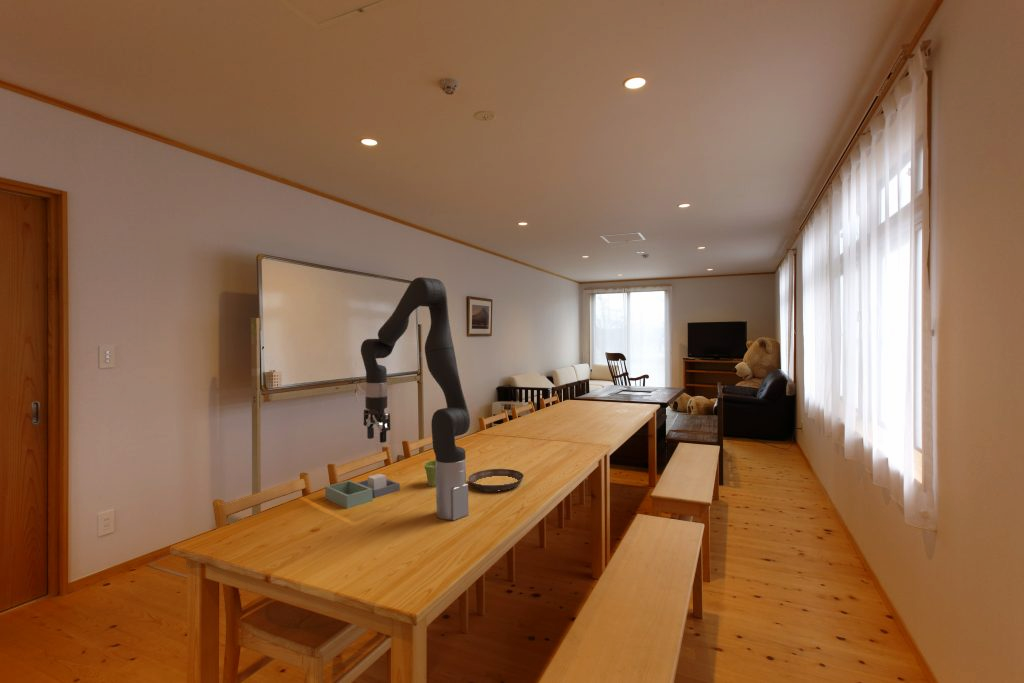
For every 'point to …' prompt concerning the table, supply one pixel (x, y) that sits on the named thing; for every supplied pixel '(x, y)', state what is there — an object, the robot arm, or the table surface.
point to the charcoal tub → (383, 488)
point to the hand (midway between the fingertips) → (376, 440)
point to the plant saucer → (495, 472)
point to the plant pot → (431, 472)
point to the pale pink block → (377, 481)
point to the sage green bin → (348, 494)
